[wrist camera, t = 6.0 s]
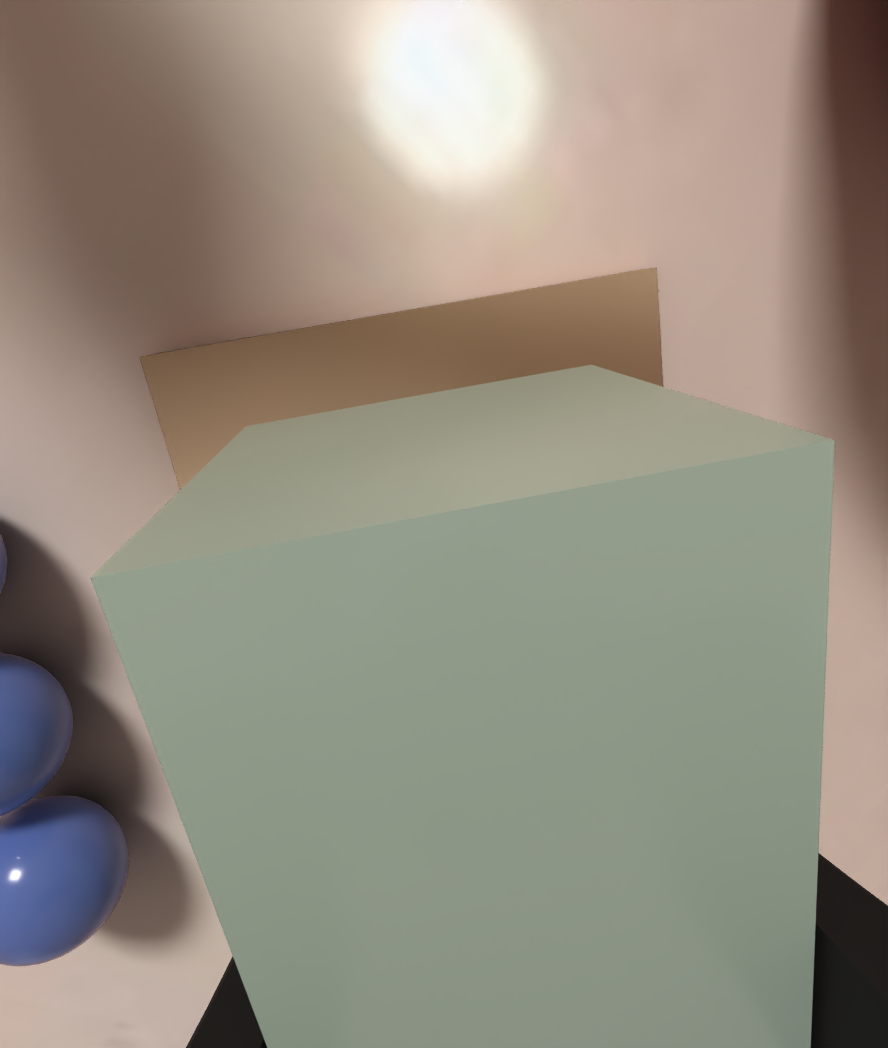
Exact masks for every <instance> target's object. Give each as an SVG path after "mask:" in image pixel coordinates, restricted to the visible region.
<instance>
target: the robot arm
mask: <svg viewBox="0 0 888 1048" xmlns="http://www.w3.org/2000/svg"><path fill="white" fill-rule="evenodd" d="M186 1048H267V1045H266V1043H265V1040H264V1037H263V1035H262V1032H261V1029H260V1027H259V1024H258V1021H257V1019H256V1016H255V1013H254V1011H253V1008H252V1006H251V1003H250V1000H249V998H248V995H247V992H246V990H245V987H244V984H243V982H242V979H241V976H240V974H239V971H238V968H237V966H236V963H235V960H234V958H233V957H232V959H231V961H230V963H229V965H228V967H227V969H226V971H225V973H224V975H223V977H222V979H221V981H220V983H219V985H218V987H217V989H216V991H215V993H214V995H213V997H212V999H211V1001H210V1003H209V1005H208V1007H207V1009H206V1011H205V1013H204V1015H203V1017H202V1018H201V1020H200V1022H199V1024H198V1026H197V1028H196V1030H195V1032H194V1034H193V1035H192V1037H191V1039H190V1041H189V1043H188V1045H187V1047H186ZM811 1048H888V905H886V904H885V903H884V902H882V901H881V900H879V899H878V898H877V897H875V896H874V895H873V894H871V893H870V892H869V891H867V890H866V889H865V888H863V887H862V886H861V885H859V884H858V883H857V882H855V881H854V880H853V879H851V878H850V877H849V876H848V875H846V874H845V873H844V872H842V871H841V870H840V869H838V868H837V867H836V866H835V865H833V864H832V863H831V862H829V861H828V860H827V859H826V858H824V857H823V856H822V855H820V854H819V853H818V874H817V899H816V925H815V950H814V975H813V1000H812V1026H811Z"/></svg>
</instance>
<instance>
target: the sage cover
mask: <svg viewBox="0 0 888 1048" xmlns="http://www.w3.org/2000/svg"><path fill="white" fill-rule="evenodd" d="M834 446H835V440H833V439H829V438H826V437H823V436H820V435H816V434H813V433H810V432H807V431H804V430H800V429H797V428H794V427H791V426H787V425H784V424H781V423H778V422H775V421H771V420H768V419H765V418H762V417H758V416H755V415H752V414H749V413H746V412H742V411H739V410H736V409H733V408H730V407H726V406H723V405H720V404H717V403H713V402H710V401H707V400H704V399H701V398H697V397H694V396H691V395H688V394H684V393H681V392H678V391H675V390H672V389H668V388H665V387H662V386H659V385H655V384H652V383H649V382H646V381H643V380H639V379H636V378H633V377H630V376H627V375H623V374H620V373H617V372H614V371H610V370H607V369H604V368H601V367H598V366H594V365H586V366H581V367H575V368H569V369H564V370H558V371H553V372H547V373H541V374H536V375H530V376H524V377H519V378H513V379H508V380H502V381H496V382H491V383H485V384H480V385H474V386H468V387H463V388H457V389H451V390H446V391H440V392H435V393H429V394H423V395H418V396H412V397H407V398H401V399H395V400H390V401H384V402H378V403H373V404H367V405H362V406H356V407H350V408H345V409H339V410H333V411H328V412H322V413H317V414H311V415H305V416H300V417H294V418H289V419H283V420H277V421H272V422H266V423H260V424H255V425H249V426H246V427H245V428H244V429H243V430H242V431H241V432H240V433H238V434H237V435H236V436H235V437H234V438H233V439H232V440H231V441H230V442H229V443H228V444H227V445H226V446H225V447H224V448H223V449H222V450H221V451H220V452H219V453H218V454H217V455H216V456H215V457H214V458H213V459H212V460H211V461H210V462H209V463H208V464H207V465H206V466H205V467H204V468H203V469H202V470H201V471H200V472H199V473H197V474H196V475H195V476H194V477H193V478H192V479H191V480H190V481H189V482H188V483H187V484H186V485H185V486H184V487H183V488H182V489H181V490H180V491H179V492H178V493H177V494H176V495H175V496H174V497H173V498H172V499H171V500H170V501H169V502H168V503H167V504H166V505H165V506H164V507H163V508H162V509H161V510H160V511H159V512H157V513H156V514H155V515H154V516H153V517H152V518H151V519H150V520H149V521H148V522H147V523H146V524H145V525H144V526H143V527H142V528H141V529H140V530H139V531H138V532H137V533H136V534H135V535H134V536H133V537H132V538H131V539H130V540H129V541H128V542H127V543H126V544H125V545H124V546H123V547H122V548H121V549H120V550H119V551H118V552H116V553H115V554H114V555H113V556H112V557H111V558H110V559H109V560H108V561H107V562H106V563H105V564H104V565H103V566H102V567H101V568H100V569H99V570H98V571H97V572H96V573H95V574H94V575H93V576H92V577H91V580H92V583H93V586H94V588H95V591H96V594H97V596H98V599H99V602H100V604H101V607H102V610H103V612H104V615H105V618H106V620H107V623H108V626H109V628H110V631H111V634H112V636H113V639H114V642H115V644H116V647H117V650H118V652H119V655H120V657H121V660H122V663H123V665H124V668H125V671H126V673H127V676H128V679H129V681H130V684H131V687H132V689H133V692H134V695H135V697H136V700H137V703H138V705H139V708H140V711H141V713H142V716H143V719H144V721H145V724H146V727H147V729H148V732H149V735H150V737H151V740H152V742H153V745H154V748H155V750H156V753H157V756H158V758H159V761H160V764H161V766H162V769H163V772H164V774H165V777H166V780H167V782H168V785H169V788H170V790H171V793H172V796H173V798H174V801H175V804H176V806H177V809H178V812H179V814H180V817H181V820H182V822H183V825H184V828H185V830H186V833H187V835H188V838H189V841H190V843H191V846H192V849H193V851H194V854H195V857H196V859H197V862H198V865H199V867H200V870H201V873H202V875H203V878H204V881H205V883H206V886H207V889H208V891H209V894H210V897H211V899H212V902H213V905H214V907H215V910H216V913H217V915H218V918H219V920H220V923H221V926H222V928H223V931H224V934H225V936H226V939H227V942H228V944H229V947H230V950H231V952H232V955H233V958H234V960H235V963H236V966H237V968H238V971H239V974H240V976H241V979H242V982H243V984H244V987H245V990H246V992H247V995H248V998H249V1000H250V1003H251V1006H252V1008H253V1011H254V1013H255V1016H256V1019H257V1021H258V1024H259V1027H260V1029H261V1032H262V1035H263V1037H264V1040H265V1043H266V1045H267V1048H811V1026H812V1000H813V975H814V950H815V925H816V899H817V874H818V849H819V824H820V799H821V773H822V748H823V723H824V698H825V673H826V647H827V622H828V597H829V572H830V547H831V521H832V496H833V471H834Z"/></svg>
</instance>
